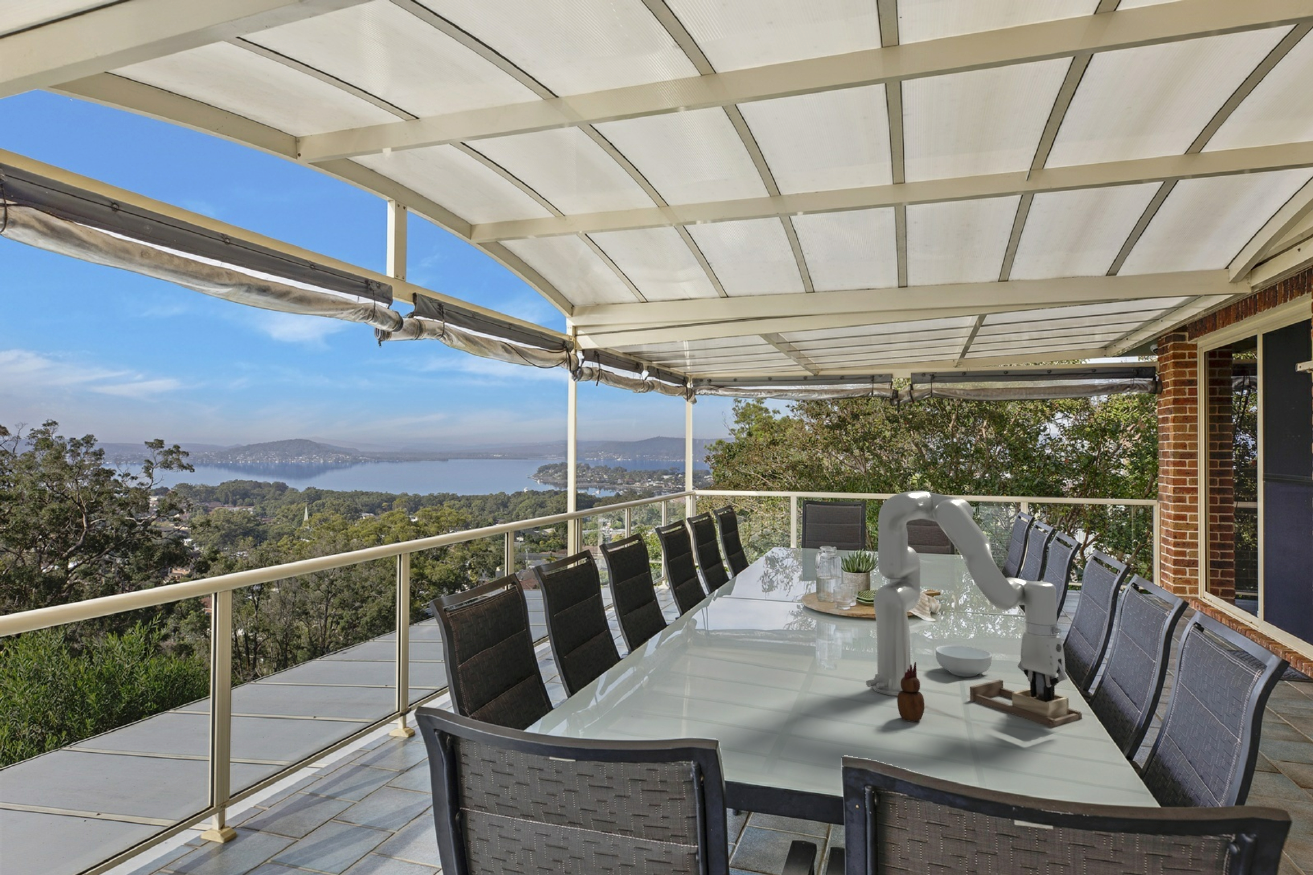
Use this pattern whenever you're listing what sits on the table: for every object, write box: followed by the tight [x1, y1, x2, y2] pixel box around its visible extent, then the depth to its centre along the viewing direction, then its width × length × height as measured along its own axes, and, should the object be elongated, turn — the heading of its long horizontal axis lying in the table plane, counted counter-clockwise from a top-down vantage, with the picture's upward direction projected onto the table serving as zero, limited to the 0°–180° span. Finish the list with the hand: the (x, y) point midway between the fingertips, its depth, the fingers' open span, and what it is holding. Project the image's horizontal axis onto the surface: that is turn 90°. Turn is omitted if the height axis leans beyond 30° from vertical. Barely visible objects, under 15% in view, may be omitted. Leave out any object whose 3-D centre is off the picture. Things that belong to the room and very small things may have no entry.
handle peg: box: [1035, 672, 1046, 702], centre depth 195 cm, size 3×3×10 cm
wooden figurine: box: [896, 661, 925, 722], centre depth 196 cm, size 7×6×15 cm
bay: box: [969, 679, 1083, 728], centre depth 200 cm, size 13×24×5 cm, turn 29°
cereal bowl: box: [935, 645, 993, 678], centre depth 237 cm, size 17×17×7 cm
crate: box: [1011, 687, 1070, 719], centre depth 196 cm, size 9×10×5 cm
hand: (1042, 698), depth 195 cm, fingers closed on handle peg, 3 cm apart
